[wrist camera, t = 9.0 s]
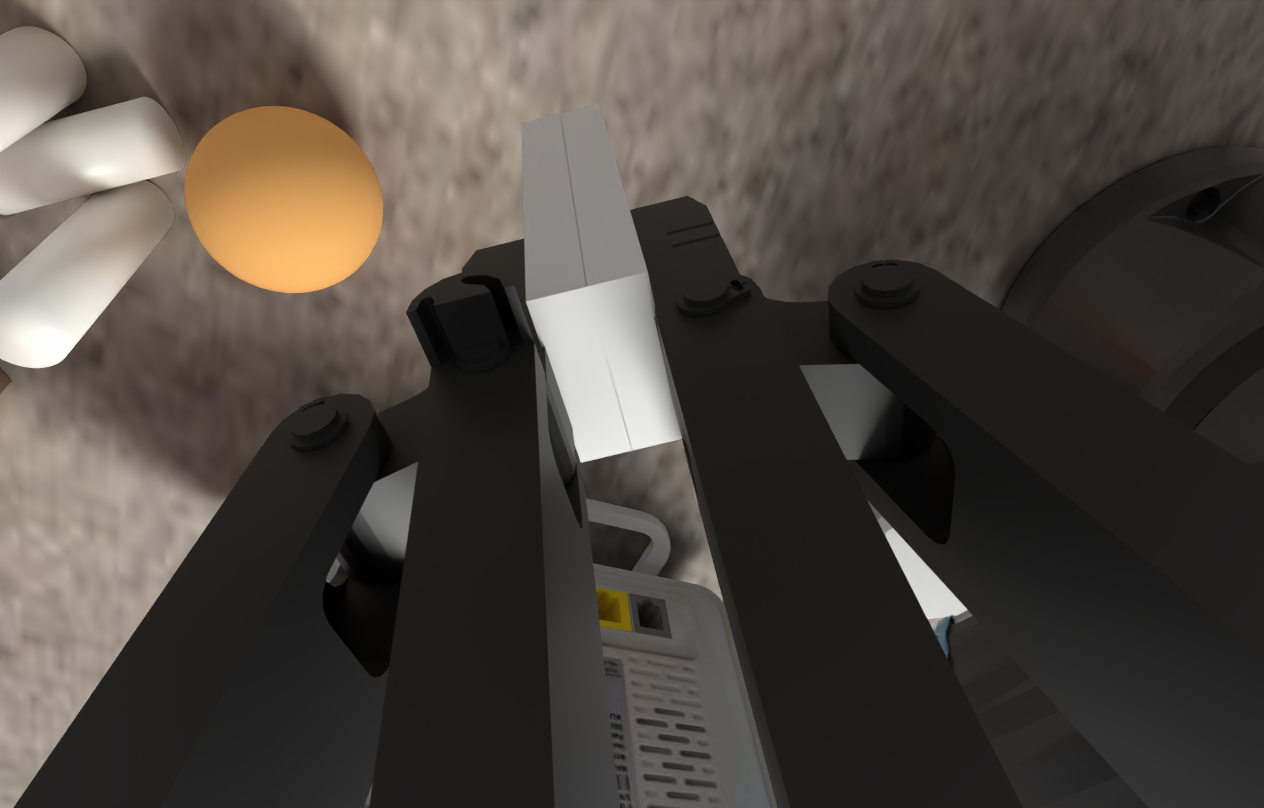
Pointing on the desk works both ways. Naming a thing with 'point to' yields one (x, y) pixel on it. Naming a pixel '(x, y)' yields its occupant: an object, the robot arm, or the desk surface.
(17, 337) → the pin
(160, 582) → the desk surface
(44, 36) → the pin
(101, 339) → the desk surface
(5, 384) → the back wall
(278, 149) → the ball
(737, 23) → the desk surface
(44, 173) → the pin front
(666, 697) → the network device
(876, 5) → the desk surface
